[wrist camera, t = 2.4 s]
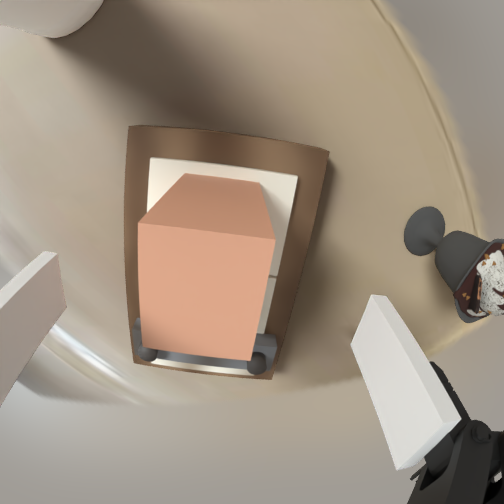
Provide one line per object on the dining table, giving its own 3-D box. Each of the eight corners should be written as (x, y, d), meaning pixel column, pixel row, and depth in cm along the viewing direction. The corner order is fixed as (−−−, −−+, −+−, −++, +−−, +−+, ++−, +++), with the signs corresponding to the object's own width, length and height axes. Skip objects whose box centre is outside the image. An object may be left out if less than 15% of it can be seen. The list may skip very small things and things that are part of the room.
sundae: (460, 223, 25) (565, 301, 11) (421, 273, 27) (508, 375, 14) (426, 182, 23) (553, 253, 10) (382, 239, 25) (483, 349, 12)
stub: (147, 256, 22) (96, 349, 13) (152, 157, 19) (78, 195, 10) (276, 272, 23) (298, 374, 14) (296, 175, 20) (346, 229, 11)
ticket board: (139, 346, 30) (125, 386, 24) (139, 125, 21) (110, 128, 15) (269, 362, 31) (274, 404, 26) (320, 148, 22) (344, 157, 17)
